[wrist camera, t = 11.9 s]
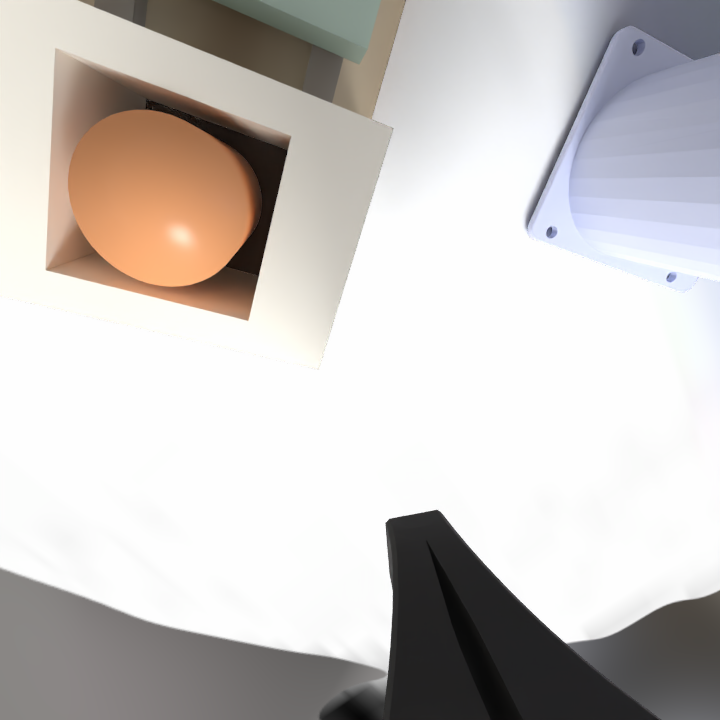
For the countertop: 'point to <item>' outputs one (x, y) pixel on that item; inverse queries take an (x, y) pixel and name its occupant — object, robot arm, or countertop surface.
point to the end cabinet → (200, 99)
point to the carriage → (318, 21)
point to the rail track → (271, 46)
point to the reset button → (162, 197)
